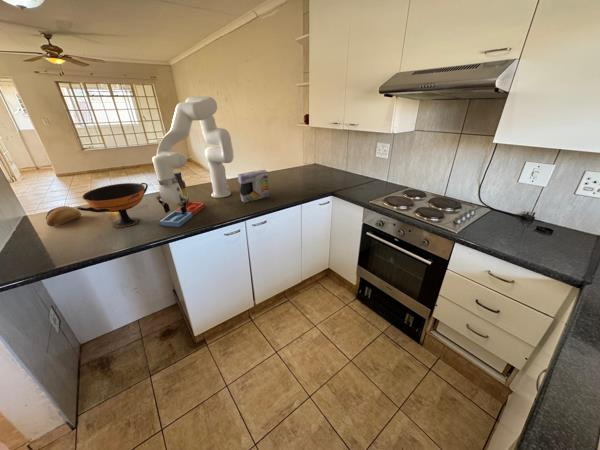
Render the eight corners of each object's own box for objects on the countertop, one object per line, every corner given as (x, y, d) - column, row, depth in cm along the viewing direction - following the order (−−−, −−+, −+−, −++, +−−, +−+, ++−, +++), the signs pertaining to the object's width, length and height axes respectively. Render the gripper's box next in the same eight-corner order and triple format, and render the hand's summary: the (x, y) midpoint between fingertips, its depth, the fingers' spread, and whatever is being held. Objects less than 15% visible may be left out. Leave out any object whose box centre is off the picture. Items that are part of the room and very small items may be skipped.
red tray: (189, 205, 150) (188, 201, 149) (205, 206, 148) (204, 202, 147) (177, 214, 139) (176, 210, 138) (194, 215, 137) (193, 211, 136)
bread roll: (43, 226, 125) (35, 212, 122) (74, 214, 138) (68, 201, 134) (56, 229, 123) (48, 215, 119) (86, 217, 136) (80, 203, 132)
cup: (134, 207, 148) (125, 178, 139) (171, 211, 142) (163, 182, 134) (72, 236, 117) (55, 202, 108) (115, 243, 111) (101, 207, 103)
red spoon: (192, 206, 148) (192, 203, 147) (198, 206, 147) (197, 203, 146) (183, 212, 139) (183, 209, 139) (189, 213, 139) (189, 210, 138)
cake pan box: (242, 203, 152) (238, 175, 144) (239, 201, 156) (235, 173, 148) (269, 197, 162) (268, 170, 154) (266, 195, 166) (264, 169, 157)
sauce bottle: (179, 202, 154) (171, 171, 145) (189, 201, 156) (182, 170, 147) (178, 206, 149) (170, 174, 140) (189, 204, 151) (182, 173, 142)
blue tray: (175, 215, 138) (174, 211, 137) (193, 216, 136) (192, 212, 135) (160, 225, 127) (159, 221, 126) (179, 226, 125) (178, 222, 124)
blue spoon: (178, 216, 135) (178, 213, 135) (184, 216, 135) (184, 213, 134) (168, 223, 127) (167, 220, 126) (174, 224, 127) (174, 221, 126)
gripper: (187, 179, 123) (195, 210, 131) (156, 178, 125) (165, 208, 134) (178, 184, 116) (187, 216, 125) (146, 183, 119) (156, 214, 127)
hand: (176, 212), depth 129 cm, fingers open, 9 cm apart
